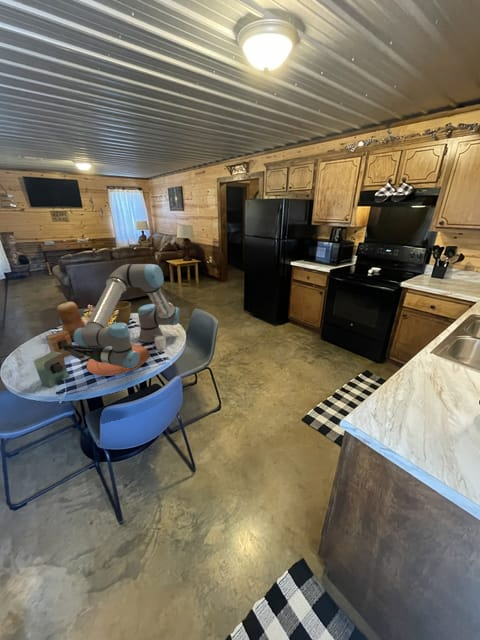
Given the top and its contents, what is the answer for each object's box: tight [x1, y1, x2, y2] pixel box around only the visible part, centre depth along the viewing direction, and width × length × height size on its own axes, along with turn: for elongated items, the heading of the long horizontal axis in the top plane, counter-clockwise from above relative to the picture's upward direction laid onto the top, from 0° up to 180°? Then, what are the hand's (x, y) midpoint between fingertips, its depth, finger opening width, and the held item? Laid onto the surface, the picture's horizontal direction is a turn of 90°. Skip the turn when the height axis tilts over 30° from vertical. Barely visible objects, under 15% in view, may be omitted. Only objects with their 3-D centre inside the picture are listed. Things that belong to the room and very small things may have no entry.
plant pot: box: [114, 301, 132, 326], centre depth 197 cm, size 15×15×16 cm
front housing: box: [33, 351, 69, 388], centre depth 132 cm, size 6×10×14 cm, turn 163°
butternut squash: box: [56, 301, 86, 339], centre depth 175 cm, size 14×13×25 cm
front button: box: [51, 364, 63, 373], centre depth 131 cm, size 3×4×4 cm
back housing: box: [45, 329, 73, 358], centre depth 156 cm, size 6×10×14 cm, turn 148°
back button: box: [58, 341, 68, 349], centre depth 153 cm, size 3×4×4 cm
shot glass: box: [154, 335, 167, 351], centre depth 165 cm, size 7×7×7 cm
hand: (65, 347), depth 122 cm, fingers closed
